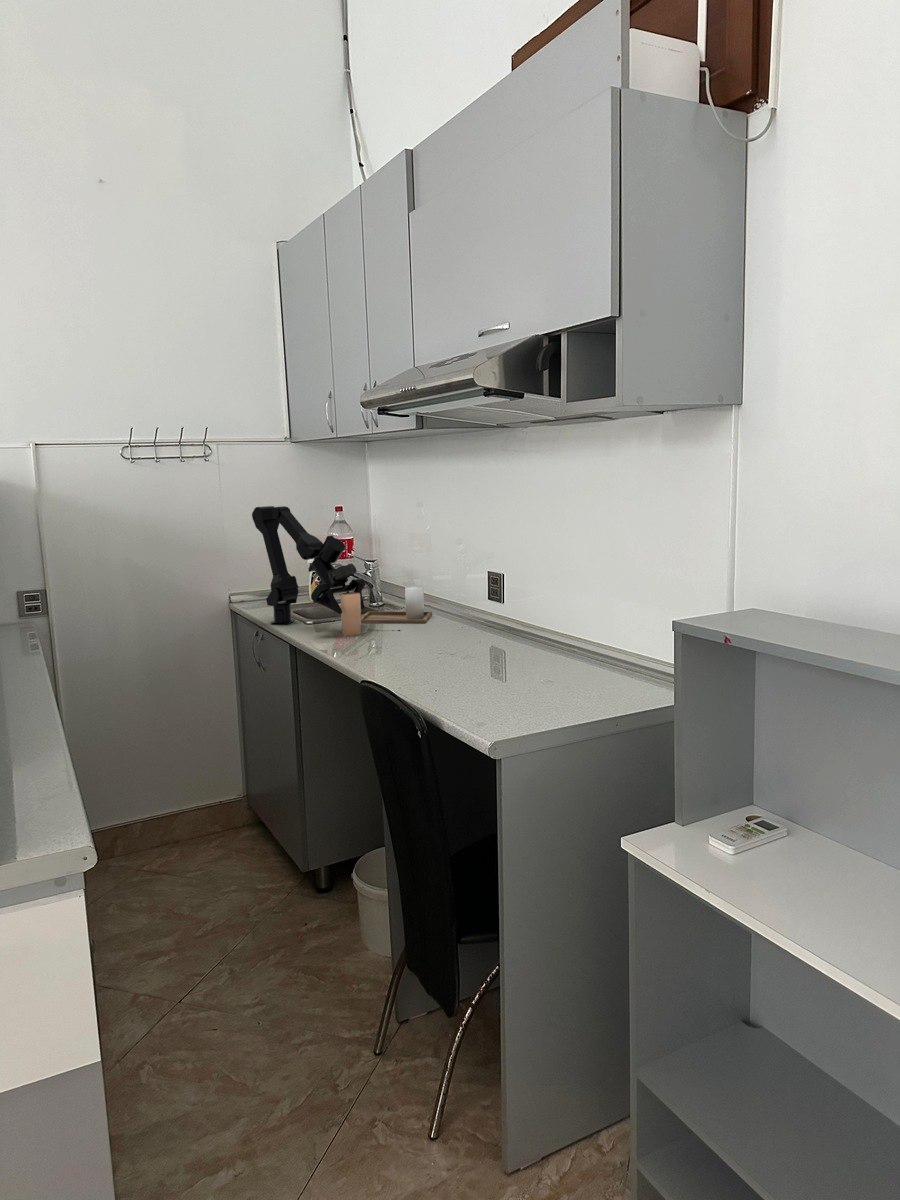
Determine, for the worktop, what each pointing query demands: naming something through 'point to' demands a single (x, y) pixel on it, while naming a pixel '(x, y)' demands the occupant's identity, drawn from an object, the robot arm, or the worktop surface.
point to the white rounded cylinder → (414, 602)
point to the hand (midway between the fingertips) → (352, 611)
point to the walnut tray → (392, 618)
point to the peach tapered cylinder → (351, 614)
